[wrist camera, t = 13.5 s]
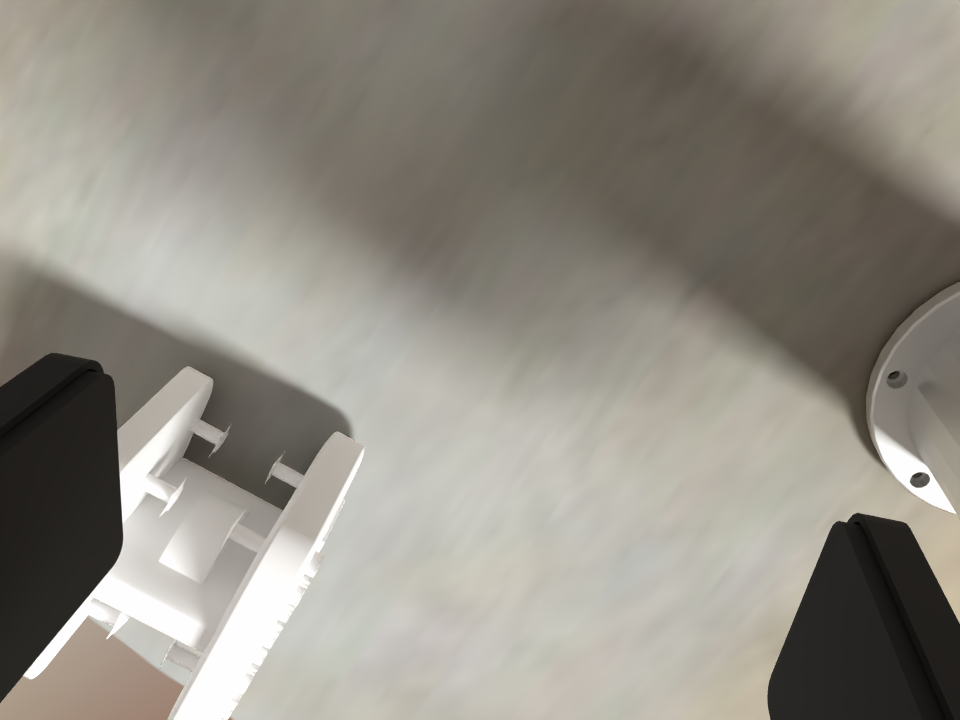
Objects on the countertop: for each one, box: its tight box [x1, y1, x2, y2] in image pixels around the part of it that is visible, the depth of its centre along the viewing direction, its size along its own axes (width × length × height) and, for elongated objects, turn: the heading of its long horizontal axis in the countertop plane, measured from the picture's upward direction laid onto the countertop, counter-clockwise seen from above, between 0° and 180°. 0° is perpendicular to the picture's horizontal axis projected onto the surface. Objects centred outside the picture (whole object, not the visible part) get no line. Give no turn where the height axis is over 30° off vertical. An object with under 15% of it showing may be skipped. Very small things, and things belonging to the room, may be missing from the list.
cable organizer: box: [23, 366, 365, 720], centre depth 42 cm, size 15×11×12 cm
